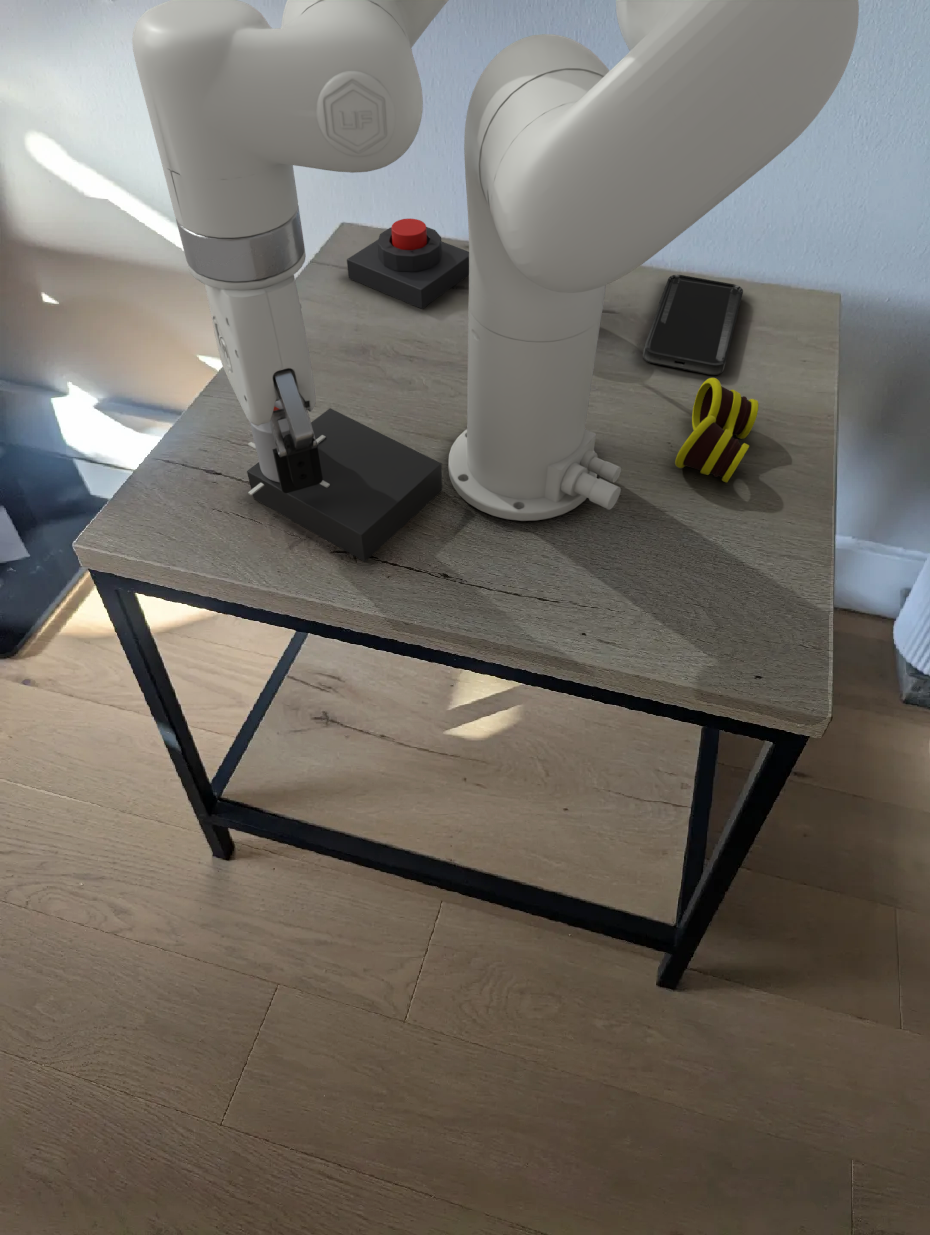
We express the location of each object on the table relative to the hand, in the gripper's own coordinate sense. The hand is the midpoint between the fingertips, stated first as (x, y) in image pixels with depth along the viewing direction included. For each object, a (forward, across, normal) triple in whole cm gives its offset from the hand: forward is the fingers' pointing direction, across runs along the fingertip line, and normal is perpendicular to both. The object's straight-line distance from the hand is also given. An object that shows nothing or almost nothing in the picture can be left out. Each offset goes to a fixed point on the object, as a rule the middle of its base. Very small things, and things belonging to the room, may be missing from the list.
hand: (285, 452), depth 68 cm
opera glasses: (+4, +10, +35) cm, 37 cm away
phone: (+4, -7, +44) cm, 45 cm away
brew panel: (+4, +2, +3) cm, 5 cm away
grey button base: (+4, -28, +22) cm, 35 cm away
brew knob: (+1, 0, 0) cm, 1 cm away
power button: (+1, -28, +22) cm, 35 cm away
